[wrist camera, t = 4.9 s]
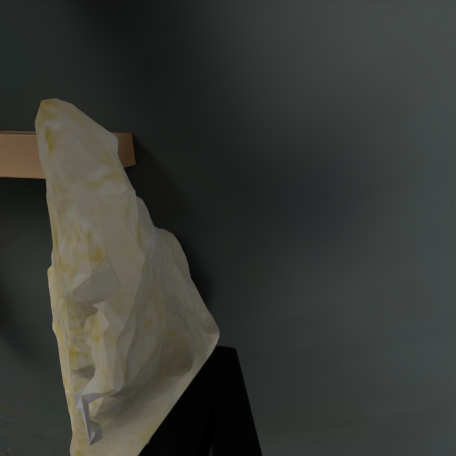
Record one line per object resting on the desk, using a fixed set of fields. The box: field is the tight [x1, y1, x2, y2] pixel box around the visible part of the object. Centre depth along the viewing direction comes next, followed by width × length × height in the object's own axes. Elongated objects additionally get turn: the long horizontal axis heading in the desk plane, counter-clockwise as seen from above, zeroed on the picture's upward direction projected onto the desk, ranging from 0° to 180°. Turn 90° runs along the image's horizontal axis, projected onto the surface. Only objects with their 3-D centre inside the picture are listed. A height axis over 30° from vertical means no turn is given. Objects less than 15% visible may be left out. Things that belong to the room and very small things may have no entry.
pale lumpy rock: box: [35, 98, 220, 456], centre depth 12 cm, size 15×7×15 cm
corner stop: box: [0, 131, 136, 179], centre depth 13 cm, size 14×14×4 cm
